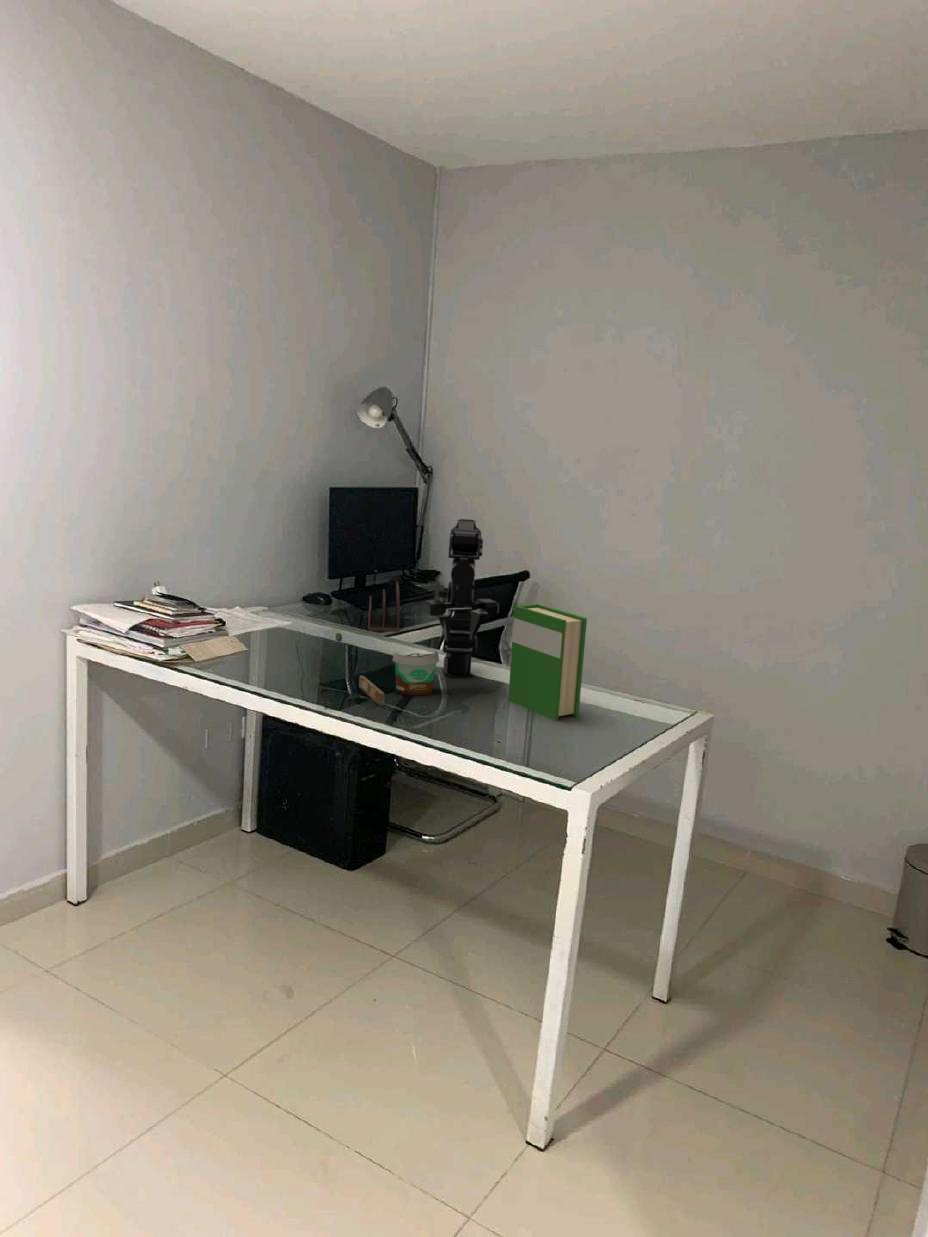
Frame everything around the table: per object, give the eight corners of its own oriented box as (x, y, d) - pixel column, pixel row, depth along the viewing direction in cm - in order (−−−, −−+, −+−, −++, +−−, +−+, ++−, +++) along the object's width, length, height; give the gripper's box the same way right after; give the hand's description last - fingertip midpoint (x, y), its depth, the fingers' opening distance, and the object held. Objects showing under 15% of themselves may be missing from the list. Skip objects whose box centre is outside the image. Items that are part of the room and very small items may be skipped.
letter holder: (397, 619, 318) (399, 578, 315) (399, 632, 299) (401, 589, 296) (368, 618, 317) (369, 577, 314) (368, 631, 298) (369, 587, 295)
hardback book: (578, 716, 222) (586, 618, 217) (555, 720, 218) (563, 620, 213) (531, 696, 236) (538, 603, 231) (508, 700, 231) (514, 605, 226)
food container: (400, 698, 228) (402, 658, 225) (391, 691, 233) (392, 652, 231) (445, 694, 233) (448, 655, 231) (435, 687, 239) (437, 649, 236)
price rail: (362, 687, 235) (363, 675, 235) (384, 705, 221) (384, 693, 220) (358, 687, 235) (358, 675, 234) (379, 706, 220) (379, 693, 220)
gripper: (482, 573, 242) (479, 631, 246) (416, 574, 235) (413, 634, 238) (501, 581, 233) (497, 641, 236) (432, 582, 225) (429, 645, 228)
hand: (459, 640), depth 235 cm, fingers open, 6 cm apart
